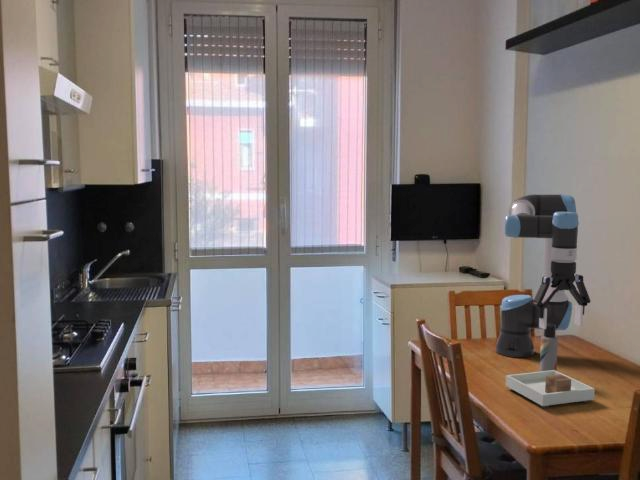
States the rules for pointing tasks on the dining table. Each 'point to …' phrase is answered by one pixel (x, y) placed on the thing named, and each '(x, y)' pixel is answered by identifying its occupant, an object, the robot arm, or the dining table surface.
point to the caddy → (535, 389)
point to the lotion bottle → (549, 348)
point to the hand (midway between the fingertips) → (560, 326)
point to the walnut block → (557, 383)
